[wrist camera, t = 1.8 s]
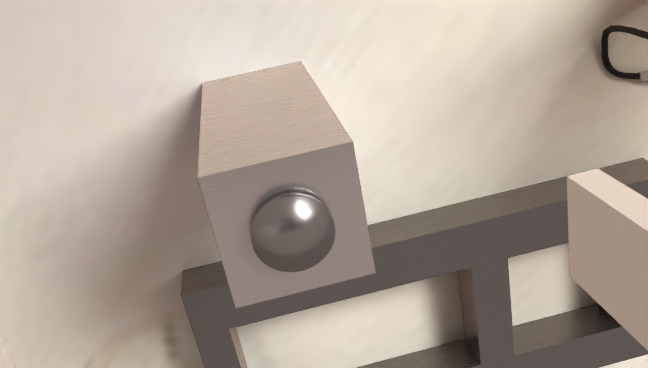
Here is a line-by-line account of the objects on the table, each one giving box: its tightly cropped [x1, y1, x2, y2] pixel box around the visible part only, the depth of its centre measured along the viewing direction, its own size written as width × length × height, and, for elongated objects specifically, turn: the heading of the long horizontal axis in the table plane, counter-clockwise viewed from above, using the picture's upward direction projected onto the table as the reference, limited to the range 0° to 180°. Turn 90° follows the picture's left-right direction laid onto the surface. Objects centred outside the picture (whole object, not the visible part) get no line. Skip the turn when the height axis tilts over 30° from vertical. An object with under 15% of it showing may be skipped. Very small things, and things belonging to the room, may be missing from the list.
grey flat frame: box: [181, 158, 648, 368], centre depth 29 cm, size 10×22×2 cm, turn 100°
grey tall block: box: [197, 61, 376, 308], centre depth 21 cm, size 4×4×10 cm
